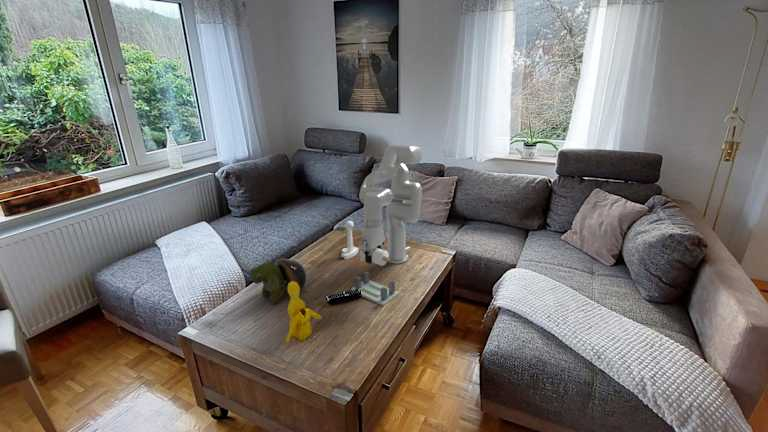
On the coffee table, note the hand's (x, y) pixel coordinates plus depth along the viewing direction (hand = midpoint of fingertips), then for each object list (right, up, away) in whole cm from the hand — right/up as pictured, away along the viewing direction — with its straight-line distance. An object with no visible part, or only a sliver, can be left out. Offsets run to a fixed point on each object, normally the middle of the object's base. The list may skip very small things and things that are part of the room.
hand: (374, 259), depth 162 cm
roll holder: (0, -16, +6) cm, 17 cm away
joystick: (-15, -2, +43) cm, 45 cm away
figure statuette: (-27, -27, -20) cm, 43 cm away
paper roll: (0, -1, 0) cm, 1 cm away
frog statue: (-42, -17, +5) cm, 45 cm away
